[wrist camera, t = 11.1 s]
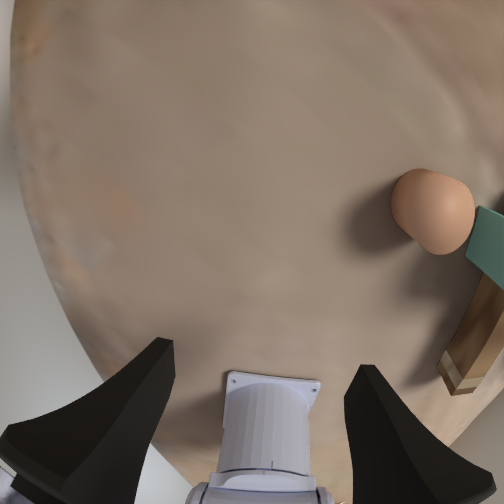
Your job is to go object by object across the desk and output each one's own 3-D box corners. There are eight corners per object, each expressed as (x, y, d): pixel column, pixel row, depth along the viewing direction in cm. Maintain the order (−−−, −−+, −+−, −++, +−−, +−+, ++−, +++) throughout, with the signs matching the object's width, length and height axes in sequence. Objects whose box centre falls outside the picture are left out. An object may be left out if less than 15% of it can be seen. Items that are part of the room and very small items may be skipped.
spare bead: (435, 238, 17) (461, 259, 14) (383, 227, 17) (404, 248, 14) (451, 177, 15) (482, 189, 12) (398, 160, 15) (424, 168, 12)
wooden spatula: (457, 365, 22) (473, 392, 18) (435, 366, 22) (450, 396, 18) (528, 190, 14) (560, 204, 11) (509, 180, 15) (543, 192, 11)
